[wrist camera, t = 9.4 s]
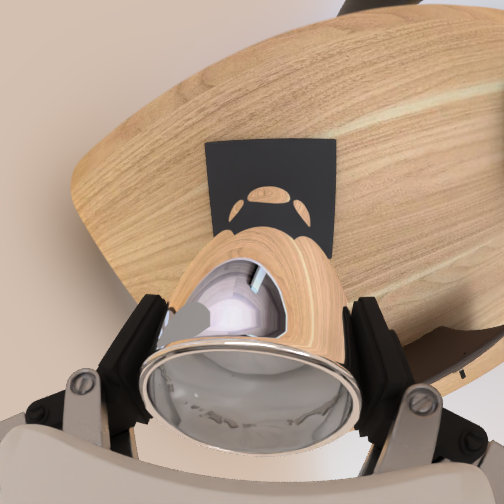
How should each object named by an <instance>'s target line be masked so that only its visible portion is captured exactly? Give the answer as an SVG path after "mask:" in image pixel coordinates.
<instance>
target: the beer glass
mask: <svg viewBox="0 0 504 504" xmlns="http://www.w3.org/2000/svg"><path fill="white" fill-rule="evenodd" d="M311 232H312V221H311V216H310V213H309V210H308V208H307V206H306V205H305V203H304V202H303V201H302V200H301V199H300V198H299V197H298V196H297V195H296V194H294V193H293V192H291V191H290V190H287V189H285V188H282V187H278V186H260V187H257V188H254V189H251V190H249V191H247V192H246V193H244V194H243V195H241V196H240V197H239V198H238V199H237V201H236V202H235V203H234V205H233V206H232V208H231V211H230V213H229V217H228V224H227V227H226V228H225V229H224V230H223V231H221V232H220V233H219V234H218V235H217V236H215V237H214V238H213V239H212V240H211V241H210V242H209V243H208V244H207V245H206V246H205V247H204V248H203V249H202V250H201V251H200V252H199V253H198V254H197V255H196V256H195V258H194V259H193V260H192V262H191V263H190V265H189V266H188V268H187V269H186V271H185V272H184V274H183V275H182V277H181V278H180V280H179V281H178V283H177V285H176V287H175V289H174V291H173V293H172V295H171V297H170V299H169V300H168V302H167V304H166V307H165V309H164V311H163V313H162V316H161V318H160V320H159V323H158V325H157V328H156V330H155V333H154V335H153V338H152V341H151V343H150V346H149V349H148V351H147V354H146V356H145V359H144V361H143V363H142V365H141V366H140V368H139V370H138V372H137V376H136V389H137V393H138V396H139V398H140V400H141V402H142V404H143V405H144V407H145V408H146V410H147V411H148V412H149V413H150V414H151V415H152V416H153V417H154V418H155V419H156V420H157V421H158V422H159V423H160V424H162V425H163V426H164V427H166V428H167V429H169V430H170V431H172V432H173V433H175V434H177V435H178V436H180V437H182V438H184V439H186V440H188V441H190V442H193V443H195V444H198V445H200V446H203V447H206V448H209V449H213V450H216V451H220V452H224V453H229V454H236V455H243V456H255V457H272V456H285V455H291V454H298V453H302V452H306V451H310V450H313V449H316V448H319V447H322V446H324V445H326V444H329V443H331V442H333V441H335V440H336V439H338V438H340V437H341V436H343V435H344V434H345V433H347V432H348V431H349V430H350V429H351V428H352V427H353V426H354V425H355V424H356V423H357V421H358V420H359V418H360V417H361V415H362V413H363V410H364V405H365V396H364V392H363V389H362V383H361V375H360V367H359V358H358V350H357V344H356V337H355V332H354V326H353V322H352V318H351V314H350V310H349V306H348V302H347V299H346V296H345V293H344V290H343V288H342V285H341V283H340V280H339V278H338V275H337V273H336V271H335V269H334V268H333V266H332V264H331V263H330V261H329V259H328V258H327V256H326V254H325V253H324V251H323V250H322V249H321V247H320V246H319V245H318V244H317V242H316V241H315V240H314V239H313V237H312V236H311Z"/></svg>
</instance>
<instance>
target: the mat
mask: <svg viewBox="0 0 504 504" xmlns="http://www.w3.org/2000/svg"><path fill="white" fill-rule="evenodd" d="M205 153H206V165H207V176H208V186H209V197H210V206H211V216H212V225H213V234H214V237H215V236H217V235H218V234H219V233H220V232H221V231H223V230H224V229H225V228H226V227H227V224H228V217H229V213H230V211H231V208H232V206H233V205H234V203H235V202H236V201H237V199H238V198H239V197H240V196H241V195H243V194H244V193H246V192H247V191H249V190H251V189H254V188H257V187H260V186H278V187H282V188H285V189H287V190H290V191H291V192H293V193H294V194H296V195H297V196H298V197H299V198H300V199H301V200H302V201H303V202H304V203H305V205H306V206H307V208H308V210H309V213H310V216H311V221H312V232H311V236H312V237H313V239H314V240H315V241H316V242H317V244H318V245H319V246H320V247H321V249H322V250H323V251H324V253H325V254H326V256H327V258H328V259H331V258H332V246H333V232H334V215H335V193H336V140H335V139H308V138H281V139H249V140H232V141H219V142H207V143H205Z"/></svg>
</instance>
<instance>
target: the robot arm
mask: <svg viewBox="0 0 504 504" xmlns="http://www.w3.org/2000/svg"><path fill="white" fill-rule="evenodd" d="M165 307H166V301H165V300H164V299H162V298H161V296H160V295H153V294H146V295H145V296H144V297H143V298H142V300H141V301H140V303H139V304H138V306H137V307H136V309H135V310H134V311H133V313H132V314H131V316H130V317H129V319H128V320H127V322H126V323H125V325H124V326H123V328H122V329H121V331H120V332H119V334H118V335H117V337H116V338H115V340H114V341H113V343H112V345H111V346H110V348H109V349H108V351H107V353H106V354H105V356H104V357H103V359H102V360H101V362H100V364H99V365H98V366H99V367H98V369H97V370H96V371H95V370H93V369H90V368H83V369H80V370H77V371H76V372H74V373H73V374H72V375H71V376H70V377H69V379H68V381H67V384H66V390H63V391H61V392H58V393H55V394H53V395H50V396H48V397H45V398H42V399H40V400H37V401H35V402H33V403H32V404H31V405H30V406H29V407H28V409H27V411H26V414H25V413H24V412H22V413H19V414H17V415H15V416H13V417H11V418H8V419H6V420H3V421H1V422H0V504H504V446H502V445H500V444H499V443H497V442H495V441H494V440H492V441H491V442H489V441H488V437H487V434H486V432H485V431H484V429H483V428H482V427H480V426H478V425H477V424H475V423H472V422H470V421H469V420H467V419H465V418H463V417H460V416H459V415H457V414H454V413H453V412H451V411H449V410H447V409H445V408H443V400H442V397H441V394H440V393H439V392H438V390H437V389H435V388H434V387H433V386H431V385H428V384H422V383H420V384H416V383H415V380H414V377H413V375H412V372H411V369H410V367H409V364H408V362H407V359H406V356H405V354H404V351H403V349H402V346H401V344H400V342H399V339H398V337H397V334H396V333H395V331H394V330H389V329H388V327H387V324H386V322H385V320H384V317H383V315H382V313H381V310H380V308H379V306H378V304H377V301H376V299H375V297H360V298H359V299H358V301H354V303H353V308H352V313H351V318H352V322H353V326H354V332H355V337H356V344H357V350H358V358H359V367H360V375H361V383H362V389H363V392H364V396H365V405H364V410H363V413H362V415H361V417H360V418H359V420H358V421H357V423H356V424H355V425H354V429H355V430H359V434H360V437H365V436H368V441H369V442H371V443H372V446H371V448H370V450H369V453H368V455H367V458H366V460H365V462H364V464H363V466H362V469H361V471H360V473H359V475H358V477H356V478H347V479H339V480H329V481H313V482H260V481H246V480H234V479H225V478H218V477H211V476H205V475H198V474H193V473H188V472H183V471H179V470H174V469H170V468H166V467H162V466H157V465H154V464H150V463H147V462H143V461H140V460H139V458H138V453H137V447H136V441H135V434H134V426H135V424H136V422H139V423H143V424H148V422H149V419H150V418H151V419H152V418H153V416H152V415H151V414H150V413H149V412H148V411H147V410H146V408H145V407H144V405H143V404H142V402H141V400H140V398H139V396H138V393H137V389H136V376H137V372H138V370H139V368H140V366H141V365H142V363H143V361H144V359H145V356H146V354H147V351H148V349H149V346H150V343H151V341H152V338H153V335H154V333H155V330H156V328H157V325H158V323H159V320H160V318H161V316H162V313H163V311H164V309H165Z"/></svg>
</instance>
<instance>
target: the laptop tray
mask: <svg viewBox="0 0 504 504" xmlns="http://www.w3.org/2000/svg"><path fill="white" fill-rule="evenodd" d="M503 336H504V325H501V326H497V327H493V328H488V329H483V330H471V331H464V330H454V329H450V328H448V327H445V326H441V327H438V328H436V329H434V330H433V331H431V332H430V333H428V334H426V335H425V336H423V337H421V338H420V339H418V340H416V341H415V342H413V343H411V344H409V345H407V346H405V347H402V349H403V351H404V354H405V356H406V359H407V362H408V364H409V367H410V369H411V372H412V375H413V377H414V380H415V383H416V384H420V383H422V384H428V385H430V384H432V383H434V382H436V381H438V380H440V379H441V378H443V377H445V376H447V375H449V374H450V373H452V372H453V373H454V372H456V371H458V370H459V373H460V375H461V378H462V379H464V378H465V377H466V375H465V373H464V370H463V367H464V366H466V365H467V364H469V363H471V362H472V361H474V360H475V359H476V358H478V357H479V356H480V355H482V354H483V353H484V352H486V351H487V350H488V349H489V348H491V347H492V346H493V345H494V344H495V343H497V342H498V341H499V340H500V339H501V338H502V337H503Z"/></svg>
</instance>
